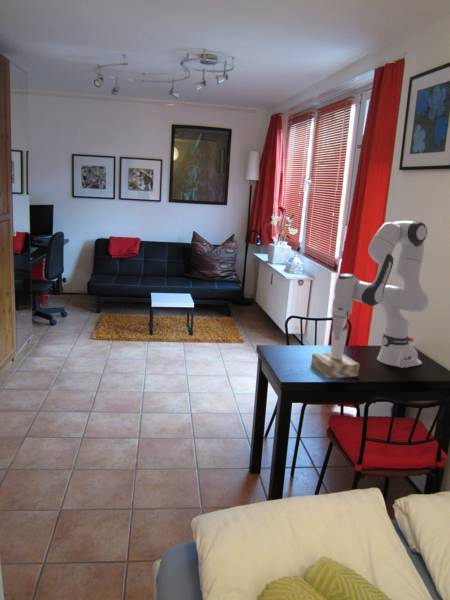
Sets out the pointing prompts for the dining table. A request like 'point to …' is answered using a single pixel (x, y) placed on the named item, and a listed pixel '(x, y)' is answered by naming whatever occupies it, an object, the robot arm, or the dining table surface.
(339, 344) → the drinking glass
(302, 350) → the dining table surface
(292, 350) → the dining table surface
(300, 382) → the dining table surface
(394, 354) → the robot arm
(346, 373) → the birch block
